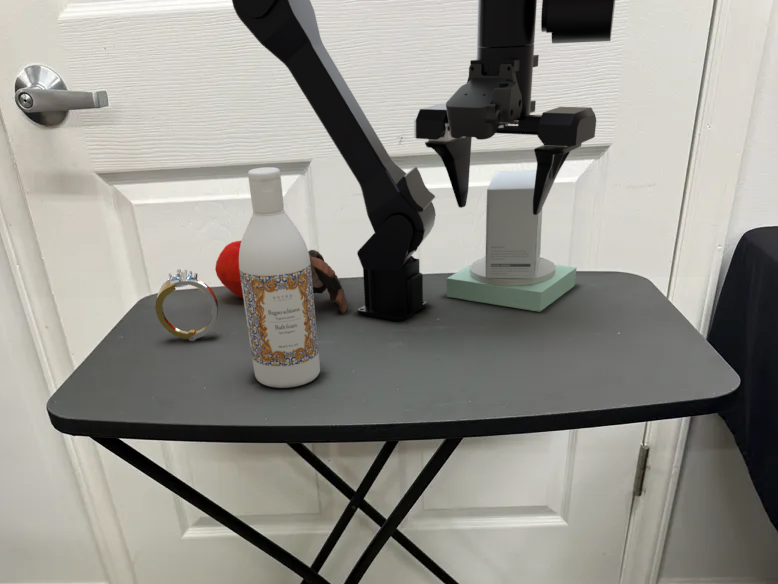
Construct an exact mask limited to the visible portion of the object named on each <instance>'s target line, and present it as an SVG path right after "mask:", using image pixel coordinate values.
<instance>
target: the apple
mask: <svg viewBox="0 0 778 584" xmlns="http://www.w3.org/2000/svg"><path fill="white" fill-rule="evenodd" d="M241 241H242V240H236V241H231V242H230V243H228V244H227V245H225V247H224V248H223V250H221V252H220V253H219V255H218V256H217V257H218V258H217V259H216V261H215V270H214V271H215V274H216V276H217V278H218V280H219V281H220V283H221V284H222V285H223V286H224V287H225V288H227V289H228V290H229V291H230V292H231V293H232V294H234V296H236V297H238V298H241V299H243V292H242V285H241V278H240V271H239V250H240V244H241Z"/></svg>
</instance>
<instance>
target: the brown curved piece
mask: <svg viewBox="0 0 778 584" xmlns="http://www.w3.org/2000/svg"><path fill="white" fill-rule="evenodd" d="M308 253H309V257H310V263H311V273H312V284H313V295H314V294H323V293H324V292H325V291H327V293H328V295H329V300H330V301H331V302H336V304H337V305H339V311H340V313H341V314H345V313H346V312H347V309H348V301H347V299H346V296H345V290H344V289H343V286H342V285H341V281H340V280H339V277H338V276H337V274H336V271H335V270H334V269H333V268H332V267H331V266H330V265H329V264H328V263H327V262H326V261H325V259H324V256H323V255H322V254H321V253H320V252H319V251H318V250H315V249H309V250H308Z"/></svg>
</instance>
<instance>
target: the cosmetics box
mask: <svg viewBox="0 0 778 584" xmlns="http://www.w3.org/2000/svg"><path fill="white" fill-rule="evenodd" d="M536 170H537V169H521V170H500V171H499V170H497V171H495V172H494V175H493V177H492V179H491V180H490V181H489V182H490V183H489V184H488V187H487V189H486V204H485V205H486V207H485V208H486V211H485V256H486V266H485V277H486V278H518V279H535V278H536V274H537V269H538V264H539V259H540V257H541V249H542V248H541V246H542V224H543V223H542V222H543V208H542V209H541V212H540V213H539V214H537V215H534V214H533V195H534V187H535V178H536Z"/></svg>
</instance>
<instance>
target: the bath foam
mask: <svg viewBox="0 0 778 584" xmlns="http://www.w3.org/2000/svg"><path fill="white" fill-rule="evenodd" d="M247 179H248V184H249V193H250V200H251V207H252V208H251V209H252V214H251V217H250V219H249V222H248V224H247V226H246V228H245V230H244V232H243V236H242V238H241V240H240V241H241V244H240V250H239V271H240V278H241V285H242V292H243V298H242V299H243V305H244V312H245V318H246V319H245V320H246V327H247V331H248V339H249V346H250V353H251V354H250V355H251V359H252V366H253V373H254V376H255V379H256V380H257V381H258V382H259V383H260V384H262V385H264V386H267V387H271V388H277V389H285V388H286V389H288V388H296V387H300V386H304V385H306V384H308V383H311V382H312V381H314V380H316V378H318V376H319V374H320V372H321V363H320V353H319V350H320V349H319V340H318V339H319V338H318V329H317V319H316V317H317V316H316V309H315V308H316V307H315V297H314V294H313V284H312V273H311V263H310V257H309V253H308V251H309V250H308V246H307V243H306V241H305V239H304V237H303V235H302V233H301V232H300V230H299V228H297V226H296V225H295V223H294V222H293V221H292V219H291V218H290V216H289V215H288V214H287V213H286V211H285V207H284V195H283V186H282V177H281V170H280V168H278V167H272V166H271V167H270V166H267V167H257V168H252V169H250V170H248V172H247Z"/></svg>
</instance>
